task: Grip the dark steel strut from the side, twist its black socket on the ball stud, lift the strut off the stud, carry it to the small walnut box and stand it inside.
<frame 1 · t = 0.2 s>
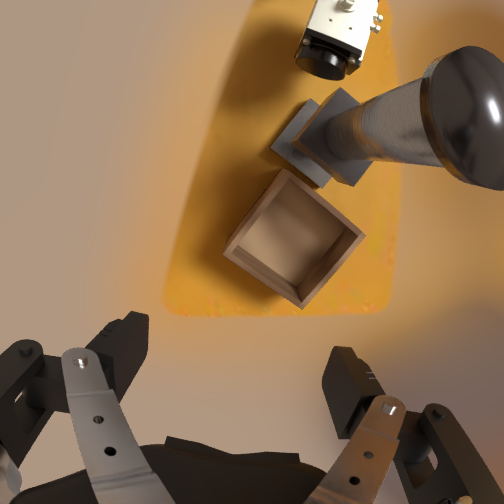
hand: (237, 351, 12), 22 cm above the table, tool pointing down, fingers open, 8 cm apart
stud mount: (314, 143, 30), on the table
pneumatic rotary actuator: (322, 49, 26), on the table
bin: (290, 231, 33), on the table
strut: (333, 139, 22), point 8 cm above the table, touching stud mount
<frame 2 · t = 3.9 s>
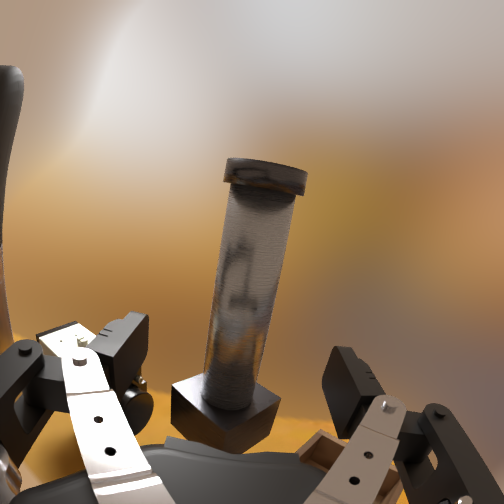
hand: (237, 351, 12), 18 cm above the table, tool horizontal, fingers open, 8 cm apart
pneumatic rotary actuator: (101, 435, 22), on the table
strut: (220, 430, 18), point 8 cm above the table, touching stud mount
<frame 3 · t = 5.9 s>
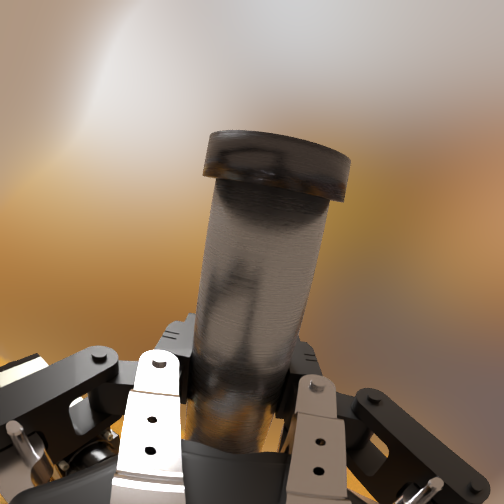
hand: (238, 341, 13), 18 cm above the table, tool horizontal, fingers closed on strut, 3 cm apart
pneumatic rotary actuator: (78, 478, 15), on the table
strut: (211, 500, 12), point 8 cm above the table, touching gripper, stud mount
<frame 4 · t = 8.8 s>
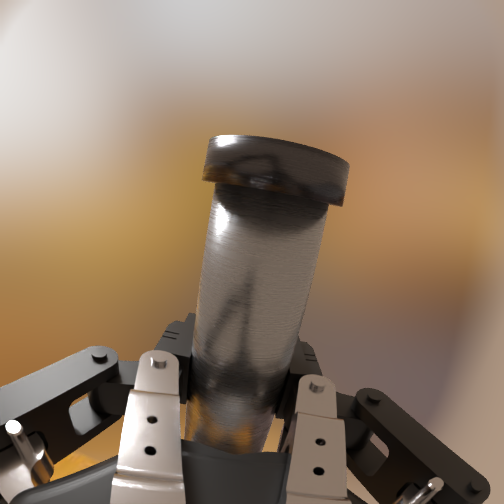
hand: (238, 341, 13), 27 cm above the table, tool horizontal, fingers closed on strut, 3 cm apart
strut: (210, 503, 12), point 17 cm above the table, touching gripper
when the fingers open (13 cm above the table, at t = 11.7 s): strut drops 1 cm, resting on bin.
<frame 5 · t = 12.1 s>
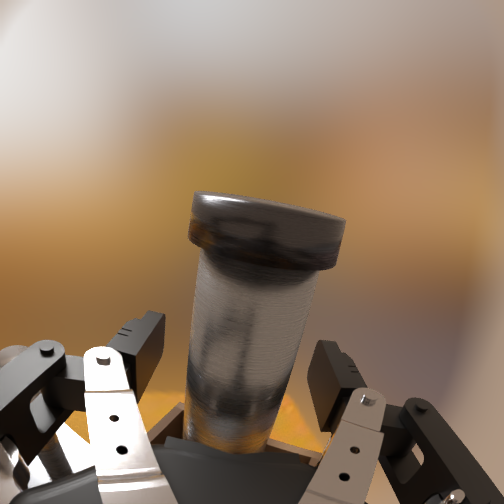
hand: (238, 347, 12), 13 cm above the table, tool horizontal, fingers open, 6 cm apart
stud mount: (62, 476, 12), on the table
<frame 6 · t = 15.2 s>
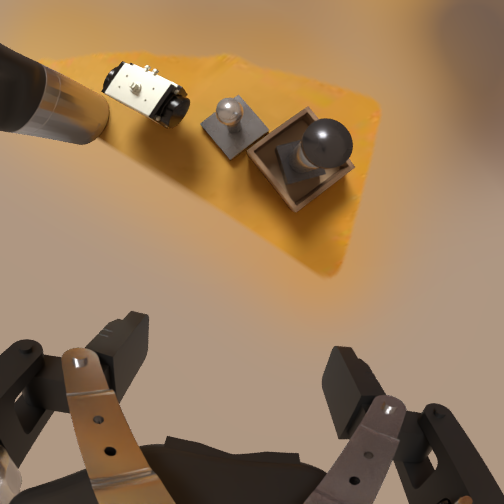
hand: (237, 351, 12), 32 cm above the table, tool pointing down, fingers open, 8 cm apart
stud mount: (234, 128, 40), on the table
pneumatic rotary actuator: (164, 107, 39), on the table
bin: (297, 161, 41), on the table
strut: (297, 162, 40), point 1 cm above the table, touching bin
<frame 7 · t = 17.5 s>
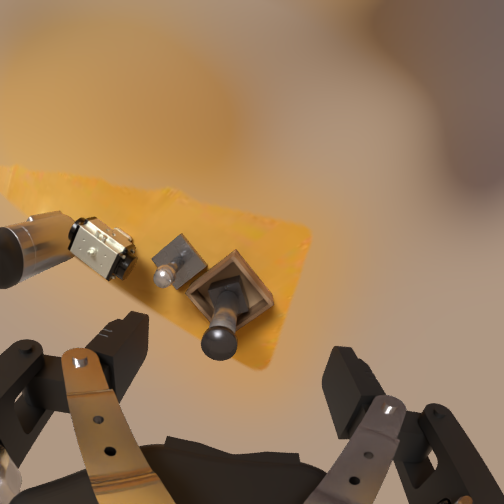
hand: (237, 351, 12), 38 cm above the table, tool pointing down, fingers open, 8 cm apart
stud mount: (179, 260, 50), on the table
pneumatic rotary actuator: (122, 237, 50), on the table
bin: (231, 289, 51), on the table
strut: (230, 292, 50), point 1 cm above the table, touching bin
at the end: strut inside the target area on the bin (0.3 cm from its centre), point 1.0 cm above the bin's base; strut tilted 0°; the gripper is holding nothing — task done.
